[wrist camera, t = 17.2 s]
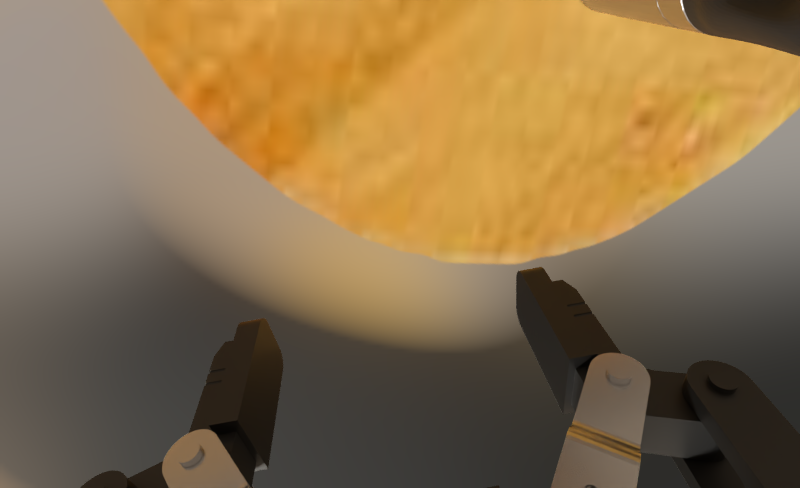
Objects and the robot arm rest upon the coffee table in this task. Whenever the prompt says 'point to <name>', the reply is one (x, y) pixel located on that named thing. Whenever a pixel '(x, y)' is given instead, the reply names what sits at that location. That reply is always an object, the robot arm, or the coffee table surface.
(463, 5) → the coffee table surface
